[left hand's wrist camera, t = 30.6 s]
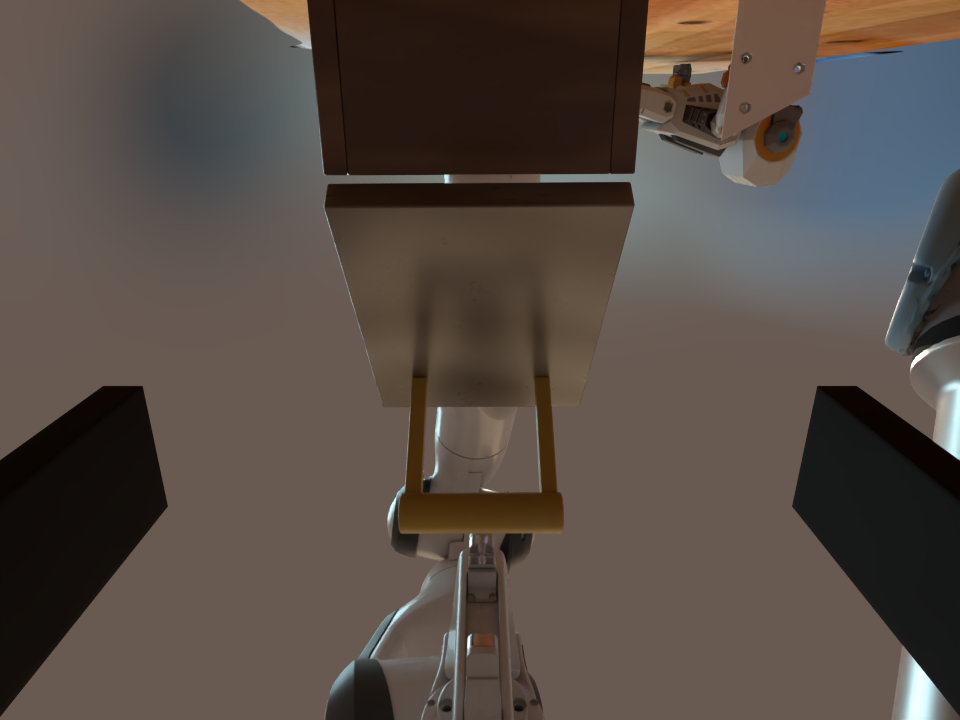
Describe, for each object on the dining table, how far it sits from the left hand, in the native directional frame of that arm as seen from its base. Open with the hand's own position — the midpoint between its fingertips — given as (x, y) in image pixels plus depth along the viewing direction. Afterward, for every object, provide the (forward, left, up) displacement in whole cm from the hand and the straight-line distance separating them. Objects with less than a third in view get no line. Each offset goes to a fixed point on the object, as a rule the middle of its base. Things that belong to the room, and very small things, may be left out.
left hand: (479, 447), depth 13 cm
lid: (+13, +8, +2) cm, 15 cm away
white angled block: (+26, +41, -14) cm, 50 cm away
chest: (+15, +9, -14) cm, 22 cm away
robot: (+76, +87, -14) cm, 116 cm away
